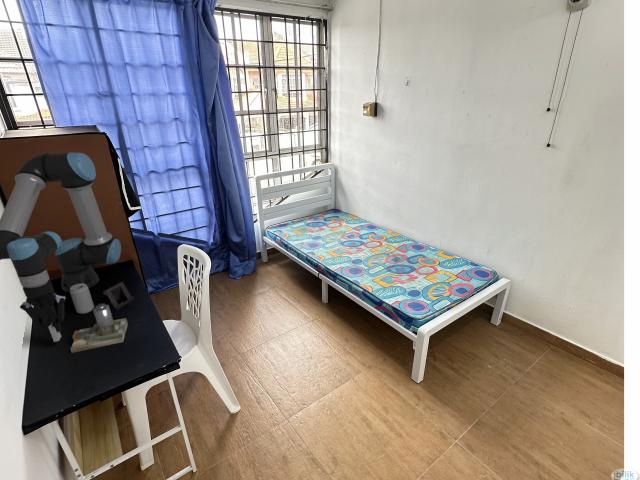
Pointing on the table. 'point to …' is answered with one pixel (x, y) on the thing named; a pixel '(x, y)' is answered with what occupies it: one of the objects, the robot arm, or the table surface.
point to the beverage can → (81, 298)
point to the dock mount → (101, 337)
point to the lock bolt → (80, 335)
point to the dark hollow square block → (115, 293)
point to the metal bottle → (104, 319)
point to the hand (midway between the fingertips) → (57, 339)
